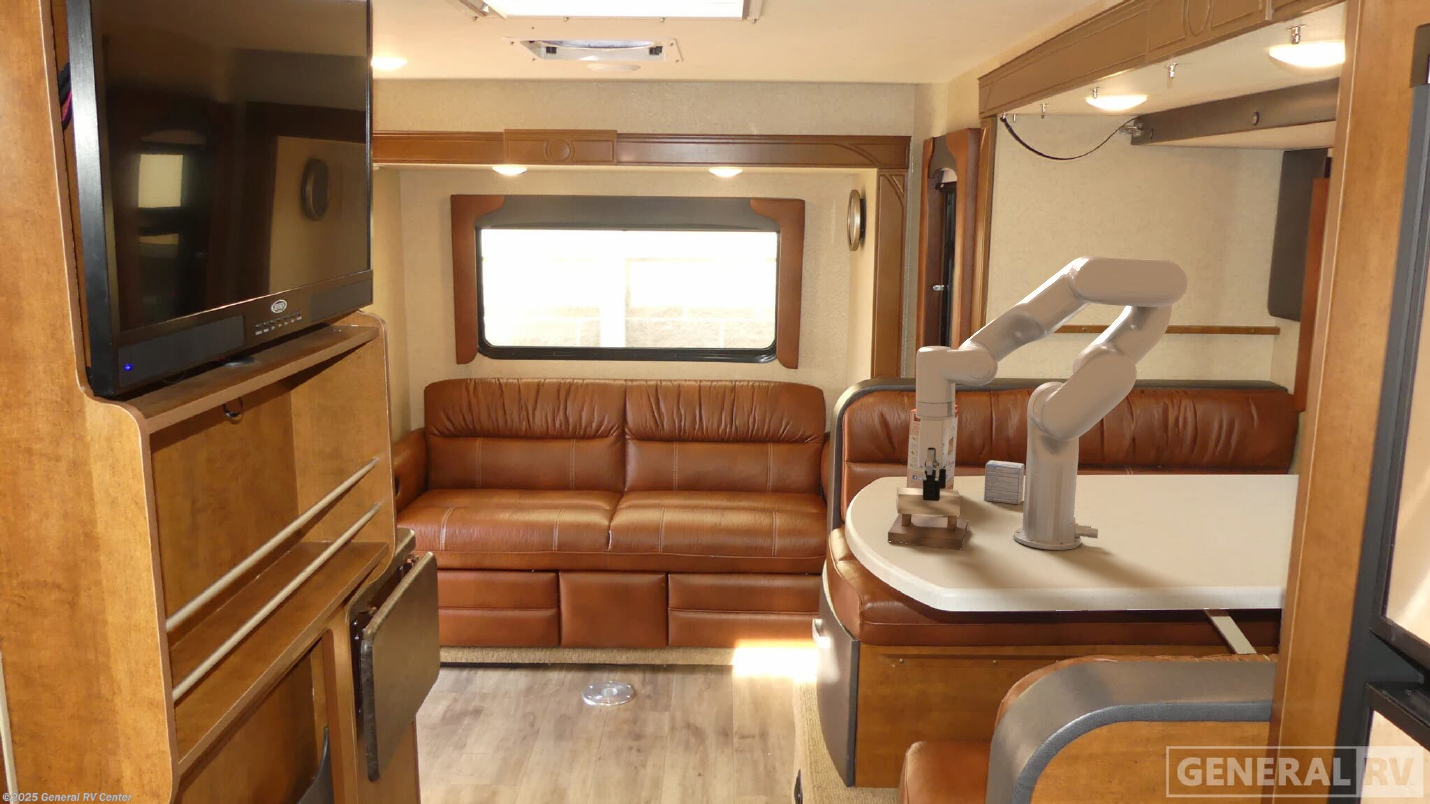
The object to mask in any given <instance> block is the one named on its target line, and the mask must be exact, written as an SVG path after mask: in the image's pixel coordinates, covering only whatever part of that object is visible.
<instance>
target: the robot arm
mask: <svg viewBox="0 0 1430 804" xmlns="http://www.w3.org/2000/svg"><path fill="white" fill-rule="evenodd" d="M1188 282H1189V280H1188V276H1187V274H1186V270H1184V268H1182V266H1180V264H1178V263H1176V262H1174V261H1171V260H1167V259H1161V258H1143V259H1135V258H1134V259H1133V258H1131V259H1130V258H1115V257H1108V256H1107V257H1105V256H1098V255H1083V256H1080V257H1077V258H1075V259H1073V260H1072V261H1071V262H1069V263H1068V264H1066V265H1065V266H1064V267H1063V268H1062V269H1060V270H1059V271H1058V272H1057V273H1054V274H1053V276H1051V277H1050V278H1049V279H1048V280H1046V281H1045V282H1044V283H1042V284H1041V285H1040V286H1038V288H1036V289H1035V290H1034V291H1031V293H1029V294H1028V295H1027V296H1026V297H1024V298H1023V299H1021V300H1020V301H1019V302H1018V303H1016V304H1015V305H1013V306H1011V307H1010V308H1009V309H1007V310H1006V311H1005V312H1003V313H1002V314H1001V315H999V316H997V317H996V318H994V319H992V320H991V321H990V322H989V323H987V324H986V325H985V326H983V327H982V328H981V329H980V330H978V331H977V332H976V333H974V334H973V335H972V336H971V337H970V338H968V339H967V340H966V341H964V342H963V343H961V345H960V346H959V347H957V349H953V348H952V347H949V346H942V345H930V346H929V345H928V346H923V347H920V348H919V349H918V350H917V351H916V358H915V373H916V374H915V409H916V417H917V418H920V419H921V420H920V430H919V451H918V467H919V468H922V467H924V465H925V469H924V480H923V500H929V501H939V500H940V488H943V489H944V488H945V487H946V469H942V468H945V463H946V461H947V457H948V443H949V419H952V418H954V417H955V405H956V385H964V386H965V385H966V386H971V387H973V386H974V387H981V386H985V385H988V384H990V383H991V382H993V380H994V379H995V378H996V376H997V374H998V371H999V362H1001V361H1002V360H1004V358H1005V359H1006V357H1008V355H1010V354H1011V353H1013V352H1015V351H1016V350H1018V349H1019V348H1021V347H1023V346H1025V345H1027V344H1030V343H1032V342H1033V343H1034V342H1037V341H1041V340H1043V339H1045V338H1047V337H1049V336H1051V335H1052V334H1055V332H1057V330H1059V329H1060V328H1062V326H1064V325H1065V324H1066V323H1068V322H1069V321H1071V320H1072V319H1073V318H1075V317H1076V316H1077V315H1078V314H1080V313H1081V312H1083V310H1085V309H1086V308H1087V307H1089V306H1090V305H1092V304H1096V305H1105V306H1106V305H1107V306H1108V305H1109V306H1119V307H1120V306H1122V307H1124V308H1123V310H1122V312H1121V313H1120V314H1119V316H1117V318H1115V320H1114V321H1113V322H1112V323H1111V324H1110V325H1109V326H1108V327H1107V328H1106V329H1105V330H1104V331H1102V333H1100V335H1098V336H1097V337H1096V338H1095V339H1094V340H1093V341H1091V343H1089V344H1088V345H1087V346H1086V347H1085V348H1083V350H1081V351H1080V353H1078V355H1076V357H1075V358H1074V360H1073V364H1072V375H1071V376H1070V377H1069V378H1068V379H1067V380H1066V381H1065V382H1061V381H1048V382H1045V383H1042V384H1040V385H1039V386H1038V387H1037V388H1035V390H1033V392H1032V393H1031V395H1030V397H1029V400H1028V402H1027V403H1028V404H1027V410H1026V419H1027V448H1026V464H1025V474H1024V479H1025V480H1024V491H1023V509H1022V510H1023V512H1022V526H1021V527H1019V528H1016V529H1015V530H1014V531H1013V538H1014V540H1015V541H1016V542H1018V543H1020V544H1022V545H1024V546H1027V547H1031V548H1036V549H1040V550H1048V551H1051V550H1052V551H1063V550H1064V551H1065V550H1071V549H1075V548H1078V547H1079V546H1080V545H1081V542H1082V541H1081V540H1082V537H1086V538H1090V539H1091V538H1092V539H1098V534H1099V528H1096V527H1092V525H1086V524H1084V525H1083V524H1081V525H1080V524H1079V523H1076V517H1075V508H1076V507H1075V505H1076V493H1077V492H1076V491H1077V479H1078V466H1079V465H1078V464H1079V450H1080V449H1079V447H1080V446H1079V444H1080V443H1079V442H1080V441H1079V440H1080V439H1079V438H1080V437H1081V436H1083V435H1084V434H1086V433H1087V432H1088V431H1090V430H1091V429H1092V428H1093V427H1094V426H1095V425H1096V424H1097V423H1098V422H1100V421H1101V420H1102V419H1103V418H1104V417H1105V416H1106V415H1107V414H1109V413H1110V412H1111V411H1112V410H1113V409H1115V407H1117V406H1118V405H1119V404H1120V403H1121V402H1122V401H1123V400H1124V399H1125V398H1126V397H1127V396H1128V394H1129V393H1131V391H1132V389H1133V387H1134V386H1135V383H1136V380H1137V373H1138V372H1137V367H1136V366H1137V364H1138V363H1139V362H1140V361H1141V360H1143V358H1145V357H1146V355H1147V354H1148V353H1149V352H1150V351H1152V349H1153V348H1154V347H1155V346H1156V345H1157V344H1158V343H1159V342H1160V341H1161V339H1162V338H1163V337H1164V335H1165V333H1166V332H1167V330H1168V327H1169V325H1170V322H1171V321H1170V320H1171V316H1172V313H1173V312H1172V311H1173V305H1175V304H1176V303H1177V302H1179V301H1180V300H1181V299H1182V298H1183V297H1184V295H1185V294H1186V292H1187V290H1188V285H1189V283H1188Z"/></svg>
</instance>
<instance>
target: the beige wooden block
mask: <svg viewBox="0 0 1430 804" xmlns="http://www.w3.org/2000/svg"><path fill="white" fill-rule="evenodd" d="M895 505H896V508H895V509H896V511H897V515H899V514H912V515H923V516H947V517H948V516H957V517H960V510H961V494H960V492H959V489H953V490H949V489H940V500H939V501H929V500H923V489H921V488H907V487H896V504H895Z"/></svg>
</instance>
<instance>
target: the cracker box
mask: <svg viewBox="0 0 1430 804" xmlns="http://www.w3.org/2000/svg"><path fill="white" fill-rule="evenodd" d="M959 407H960V406H959V404H958V405H957V404H955V417H954V418H952V419H949V443H948V457H947V461H946V463H945V468H942V469H946V487H945V488H944V489H949V490H954V487H955V486H954V483H955V470H956V468H955V467H956V452H957V437H958V422H959V421H958V419H959ZM909 414H910V417H909V432H908V433H909V435H908V436H909V437H908V453H907V471H906V473H907V474H906V488H921V489H923V480H924V469H925V465H924V467H922V468H919V467H918V451H919V430H920V420H921V419H920V418H917V417H916V408H913V409H912V410H910V413H909ZM940 489H943V488H940Z"/></svg>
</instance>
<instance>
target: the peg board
mask: <svg viewBox="0 0 1430 804" xmlns="http://www.w3.org/2000/svg"><path fill="white" fill-rule="evenodd" d="M968 526H969V519H962V518H960V519H959V518H958V516H947V517H943V516H934V515H920V514H897V516H896V519H894V522H893V523H892V525H891V527H890V528H889V530H888V532H887V542H888V541H891V542H890V543H894V542H902V543H901V544H903V543H907V544H906V545H912V544H916V545H915V546H924V547H934V548H941V549H952V550H962V547H963V545H964V544H963V543H964V541H965V538H966V535H967V532H968V528H969V527H968Z"/></svg>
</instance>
